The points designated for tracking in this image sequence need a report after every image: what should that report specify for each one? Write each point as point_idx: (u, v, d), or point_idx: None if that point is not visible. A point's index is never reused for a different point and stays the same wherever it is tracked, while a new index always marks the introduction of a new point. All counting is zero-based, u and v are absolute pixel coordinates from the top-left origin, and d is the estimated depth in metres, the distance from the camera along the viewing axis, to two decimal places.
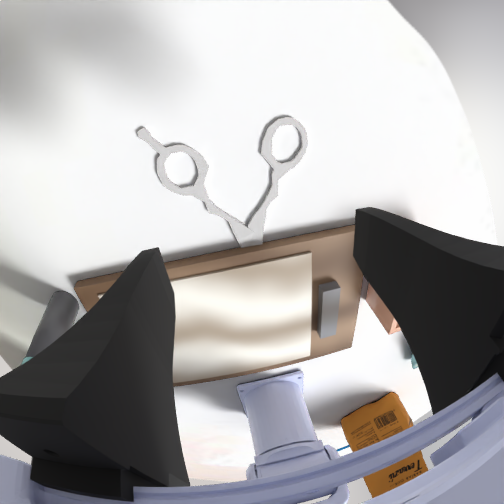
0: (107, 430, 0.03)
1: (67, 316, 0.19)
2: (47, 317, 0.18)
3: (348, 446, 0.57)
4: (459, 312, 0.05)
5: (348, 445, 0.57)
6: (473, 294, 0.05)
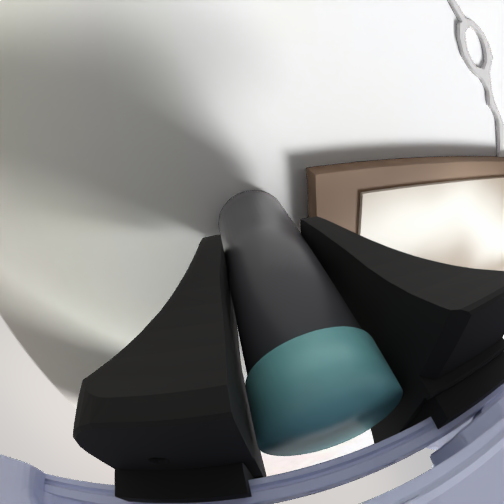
0: (242, 418, 0.04)
1: None
2: (270, 227, 0.09)
3: None
4: (389, 342, 0.05)
5: None
6: (401, 325, 0.05)
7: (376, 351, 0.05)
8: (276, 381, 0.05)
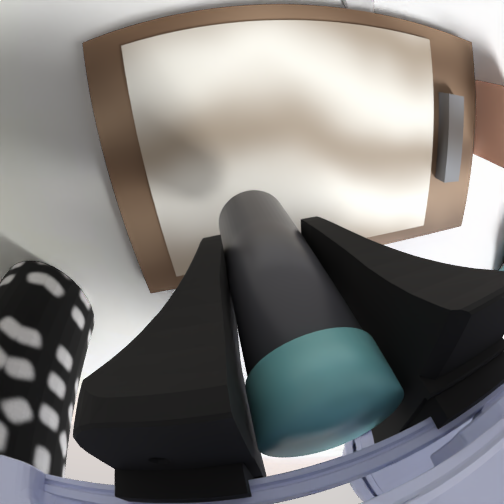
0: (241, 418, 0.04)
1: None
2: (270, 227, 0.09)
3: None
4: (389, 342, 0.05)
5: None
6: (401, 325, 0.05)
7: (377, 352, 0.05)
8: (276, 382, 0.05)
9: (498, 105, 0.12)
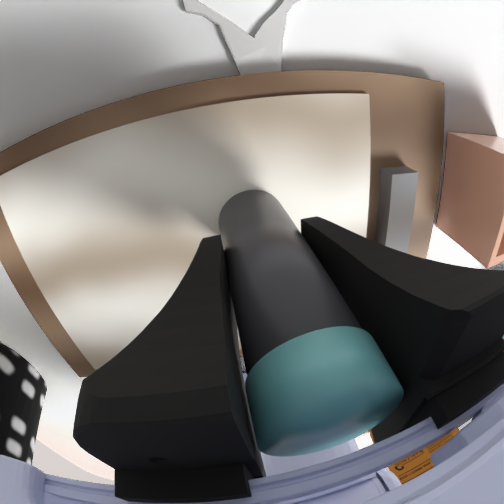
0: (241, 418, 0.04)
1: None
2: (270, 227, 0.09)
3: None
4: (389, 342, 0.05)
5: None
6: (401, 325, 0.05)
7: (377, 351, 0.05)
8: (276, 381, 0.05)
9: (474, 172, 0.11)
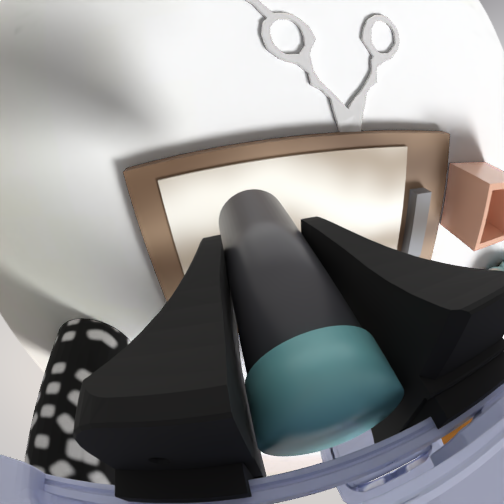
0: (241, 419, 0.04)
1: None
2: (270, 226, 0.09)
3: None
4: (389, 342, 0.05)
5: None
6: (401, 325, 0.05)
7: (377, 350, 0.05)
8: (276, 381, 0.05)
9: (465, 190, 0.19)
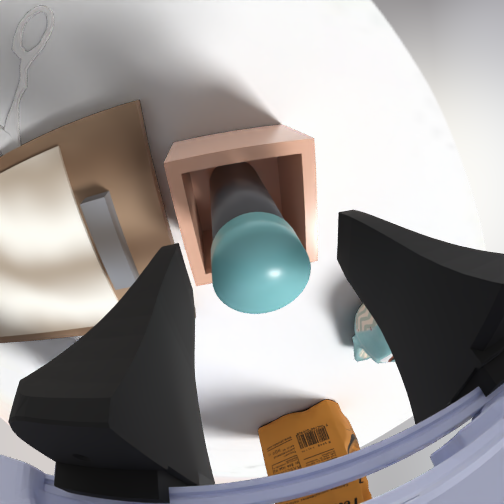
0: (147, 429, 0.03)
1: None
2: (239, 176, 0.13)
3: None
4: (439, 321, 0.05)
5: None
6: (453, 303, 0.05)
7: (287, 227, 0.09)
8: (223, 237, 0.09)
9: None
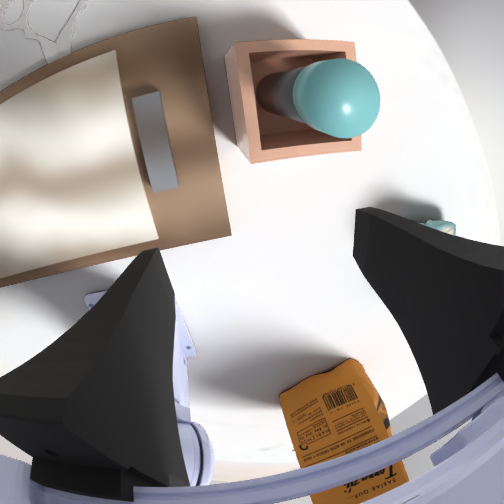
0: (107, 430, 0.03)
1: None
2: None
3: None
4: (459, 312, 0.05)
5: None
6: (473, 294, 0.05)
7: None
8: (310, 67, 0.09)
9: (231, 77, 0.14)
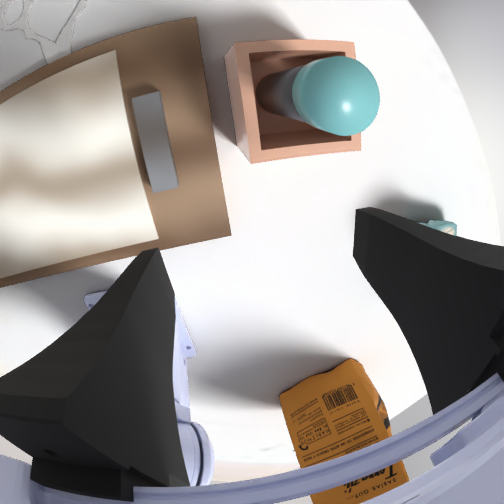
0: (107, 430, 0.03)
1: None
2: None
3: None
4: (459, 312, 0.05)
5: None
6: (473, 294, 0.05)
7: None
8: (310, 65, 0.09)
9: (231, 77, 0.14)
